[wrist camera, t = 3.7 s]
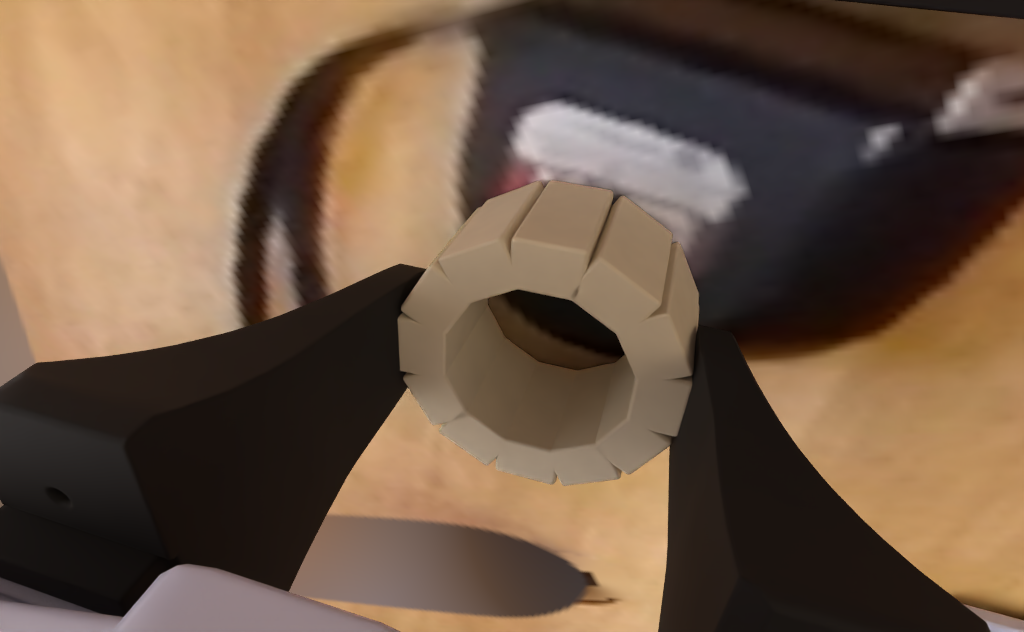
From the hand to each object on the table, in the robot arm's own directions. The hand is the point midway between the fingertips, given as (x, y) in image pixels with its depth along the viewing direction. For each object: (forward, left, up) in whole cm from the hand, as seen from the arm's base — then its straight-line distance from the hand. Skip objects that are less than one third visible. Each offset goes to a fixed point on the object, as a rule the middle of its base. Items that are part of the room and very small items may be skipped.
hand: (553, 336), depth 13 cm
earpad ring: (0, 0, -1) cm, 1 cm away
